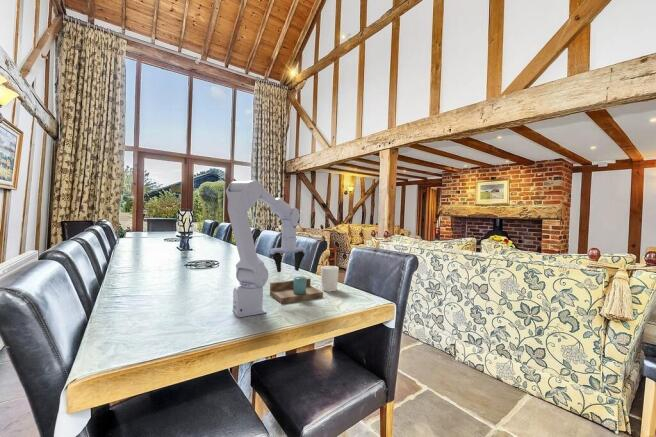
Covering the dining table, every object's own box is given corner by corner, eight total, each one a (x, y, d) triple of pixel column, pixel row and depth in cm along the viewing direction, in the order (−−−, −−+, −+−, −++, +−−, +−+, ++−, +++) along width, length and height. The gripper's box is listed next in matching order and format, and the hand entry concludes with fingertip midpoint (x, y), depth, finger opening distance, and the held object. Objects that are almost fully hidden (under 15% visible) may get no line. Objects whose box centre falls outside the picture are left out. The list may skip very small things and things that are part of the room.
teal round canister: (296, 295, 109) (297, 280, 109) (291, 292, 113) (291, 277, 113) (308, 293, 112) (308, 278, 111) (302, 290, 116) (302, 276, 116)
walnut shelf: (281, 303, 105) (281, 290, 105) (269, 294, 115) (270, 282, 115) (322, 297, 115) (323, 284, 114) (309, 289, 125) (309, 278, 125)
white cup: (338, 287, 129) (339, 266, 129) (337, 292, 121) (338, 269, 121) (321, 286, 130) (322, 265, 130) (319, 291, 122) (319, 268, 122)
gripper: (275, 238, 106) (274, 274, 106) (309, 237, 113) (308, 271, 114) (268, 236, 112) (267, 271, 112) (302, 236, 119) (301, 268, 120)
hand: (287, 271), depth 113 cm, fingers open, 7 cm apart
